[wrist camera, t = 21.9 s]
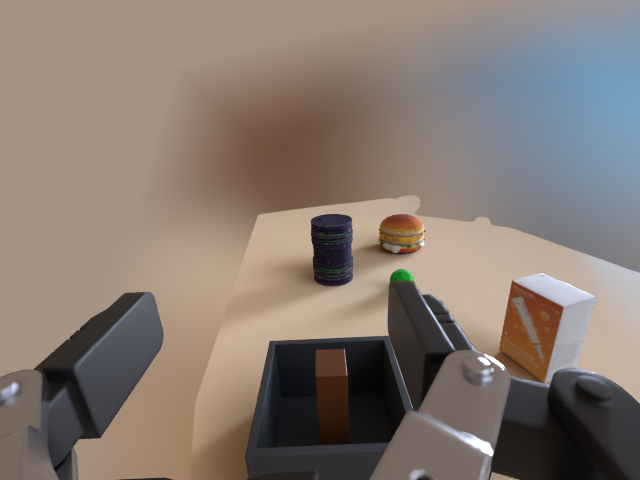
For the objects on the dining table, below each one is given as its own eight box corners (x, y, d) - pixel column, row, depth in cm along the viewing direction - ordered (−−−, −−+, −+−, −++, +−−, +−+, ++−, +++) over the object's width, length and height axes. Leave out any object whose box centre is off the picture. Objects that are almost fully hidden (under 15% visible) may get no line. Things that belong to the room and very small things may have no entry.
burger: (429, 243, 98) (431, 212, 95) (417, 260, 88) (419, 225, 84) (386, 237, 105) (387, 208, 102) (371, 252, 94) (371, 219, 91)
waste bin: (258, 529, 31) (244, 457, 28) (276, 399, 46) (269, 340, 42) (419, 523, 31) (426, 449, 27) (386, 394, 46) (388, 335, 42)
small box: (497, 350, 53) (510, 279, 48) (527, 340, 55) (541, 271, 50) (544, 385, 46) (564, 306, 41) (576, 373, 48) (598, 296, 43)
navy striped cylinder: (357, 271, 83) (357, 215, 78) (346, 289, 74) (345, 227, 69) (322, 266, 87) (319, 213, 81) (307, 283, 78) (303, 224, 73)
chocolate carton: (321, 460, 36) (315, 376, 32) (320, 428, 40) (315, 349, 36) (349, 459, 36) (347, 375, 32) (346, 427, 40) (344, 348, 36)
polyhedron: (387, 285, 75) (388, 266, 74) (408, 284, 75) (409, 265, 74) (393, 296, 70) (393, 276, 69) (415, 294, 71) (416, 275, 69)
